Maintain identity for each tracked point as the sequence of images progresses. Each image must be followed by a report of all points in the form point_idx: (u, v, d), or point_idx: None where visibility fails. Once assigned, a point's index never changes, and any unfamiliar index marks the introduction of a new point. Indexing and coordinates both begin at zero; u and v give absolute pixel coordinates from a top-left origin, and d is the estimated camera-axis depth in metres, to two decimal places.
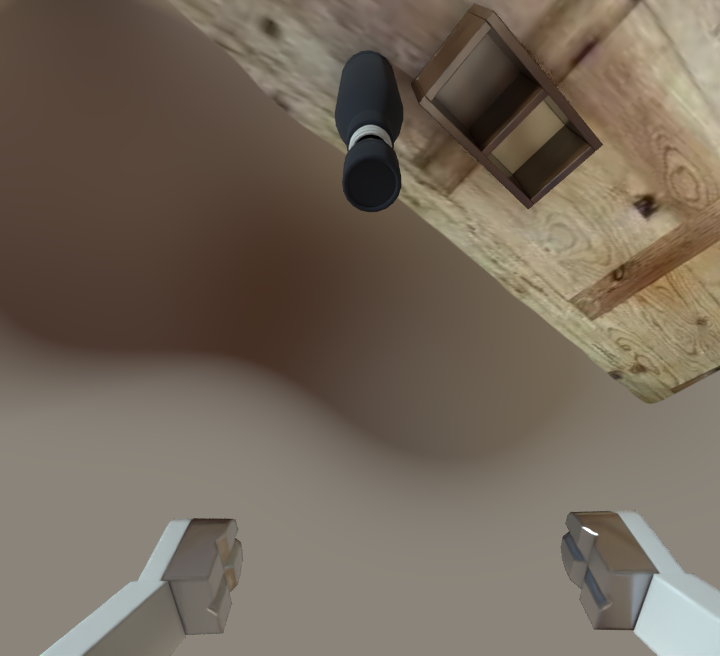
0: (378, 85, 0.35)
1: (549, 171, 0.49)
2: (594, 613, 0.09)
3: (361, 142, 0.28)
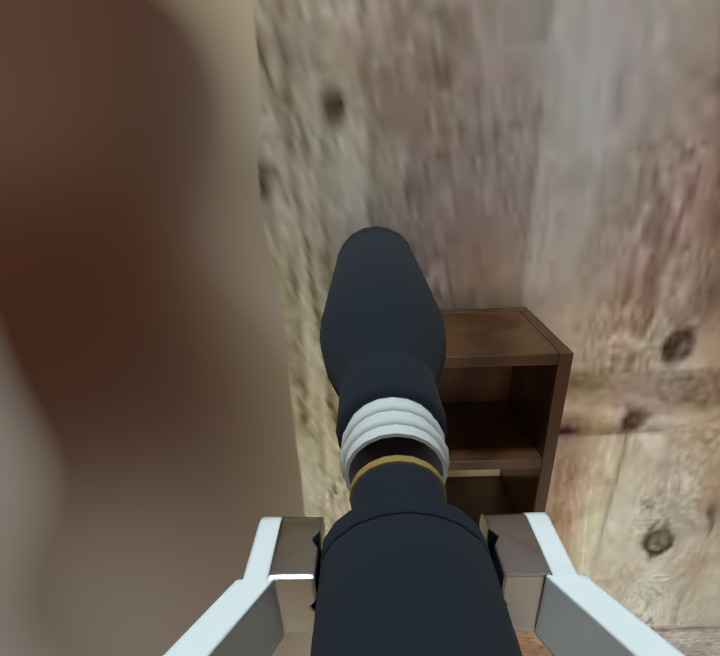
0: (440, 323, 0.19)
1: None
2: None
3: (451, 518, 0.09)
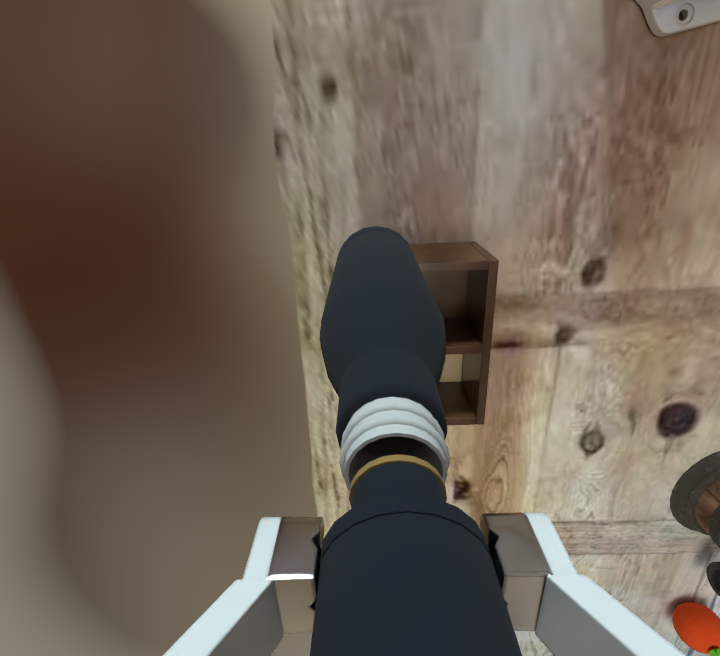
0: (440, 323, 0.19)
1: None
2: None
3: (451, 517, 0.09)
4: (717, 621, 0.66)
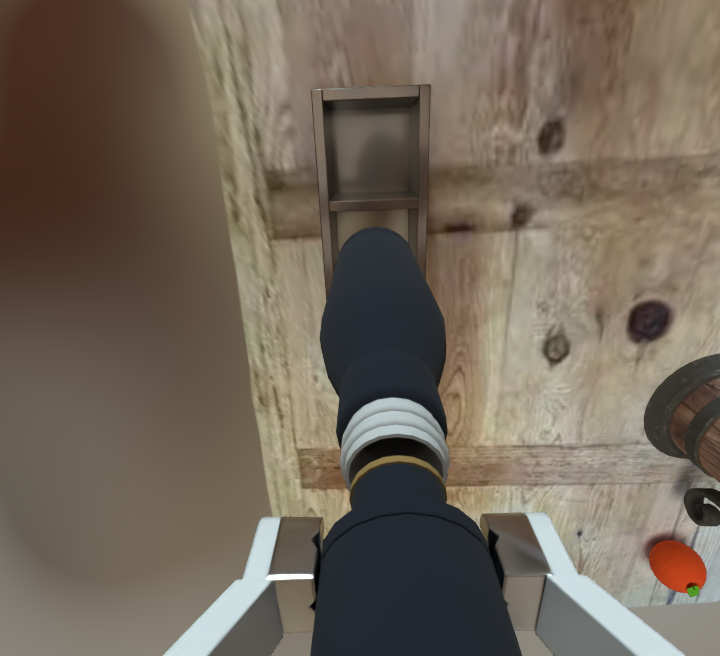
0: (440, 324, 0.19)
1: None
2: None
3: (451, 519, 0.09)
4: (696, 557, 0.60)
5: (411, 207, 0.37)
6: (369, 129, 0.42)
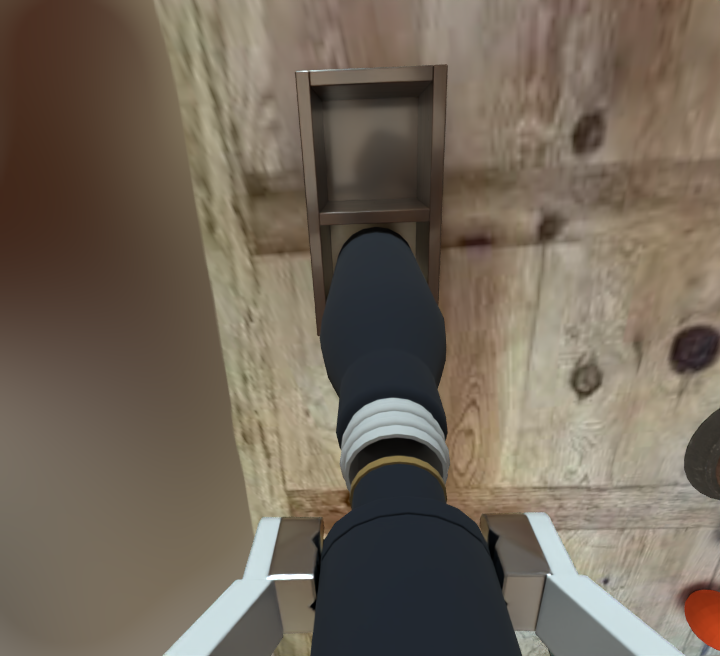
0: (441, 324, 0.19)
1: None
2: None
3: (451, 519, 0.09)
4: None
5: (421, 220, 0.30)
6: (369, 124, 0.35)
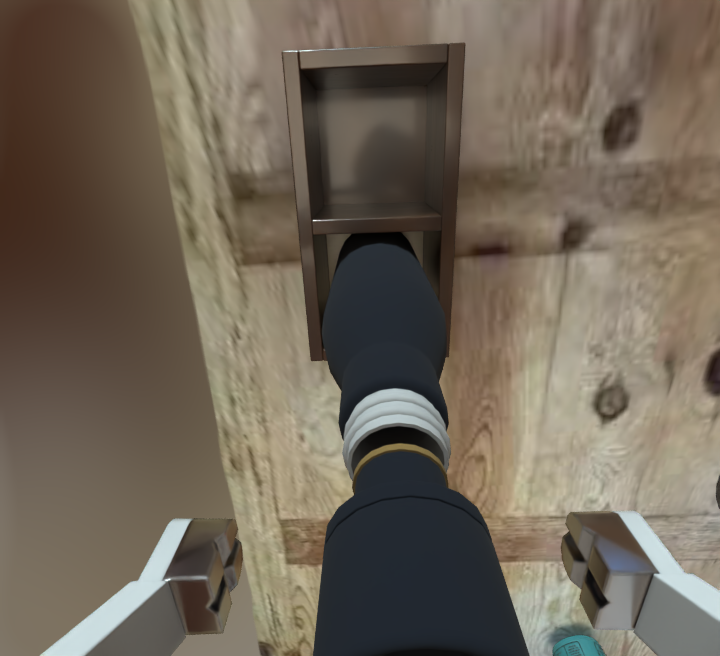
0: (441, 318, 0.19)
1: None
2: (593, 613, 0.09)
3: (453, 502, 0.09)
4: None
5: (432, 228, 0.26)
6: (370, 116, 0.30)
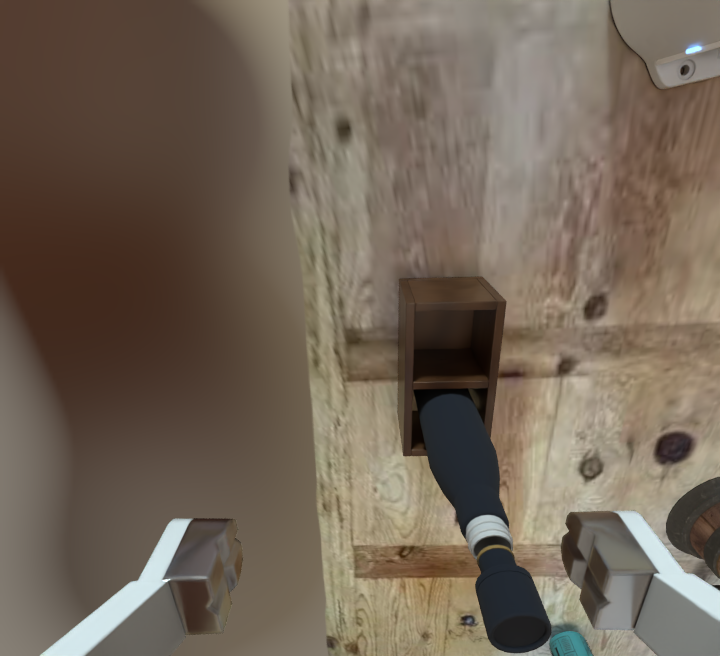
0: (496, 459, 0.38)
1: None
2: (593, 613, 0.09)
3: (522, 572, 0.27)
4: None
5: (482, 387, 0.44)
6: None
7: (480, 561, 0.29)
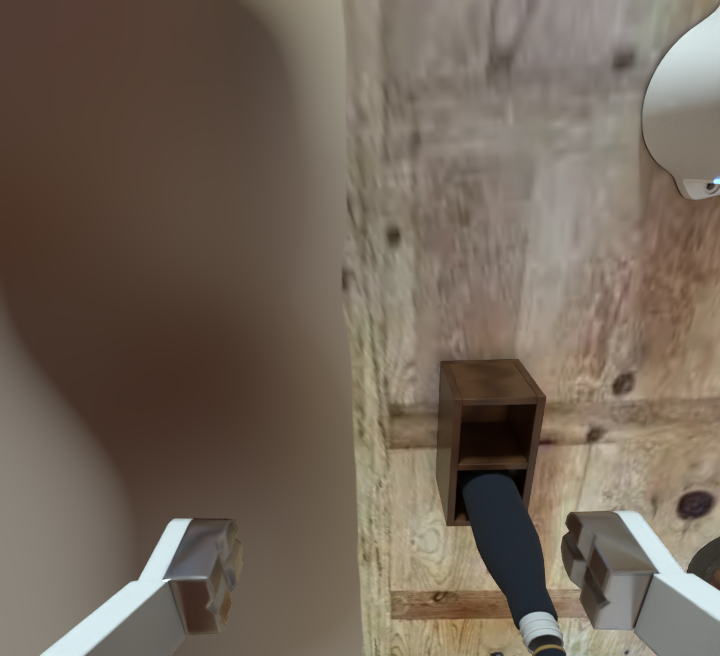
0: (540, 546, 0.42)
1: None
2: (593, 613, 0.09)
3: None
4: None
5: (522, 468, 0.48)
6: None
7: None
